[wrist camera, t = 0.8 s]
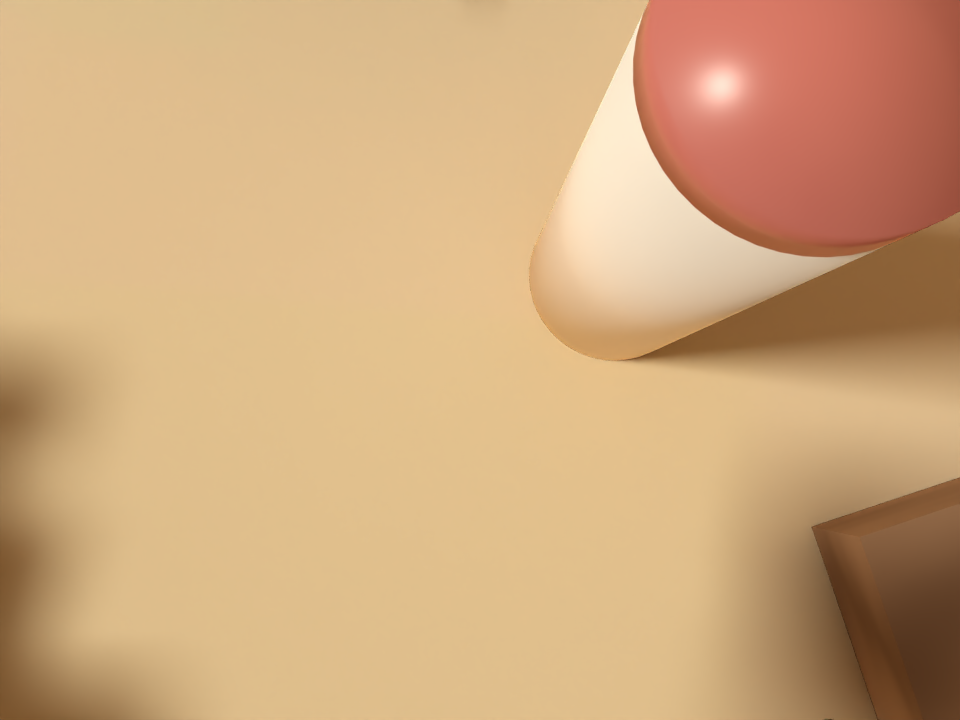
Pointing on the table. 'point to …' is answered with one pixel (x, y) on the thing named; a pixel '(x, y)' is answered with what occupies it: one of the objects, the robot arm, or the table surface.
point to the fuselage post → (748, 162)
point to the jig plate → (902, 599)
